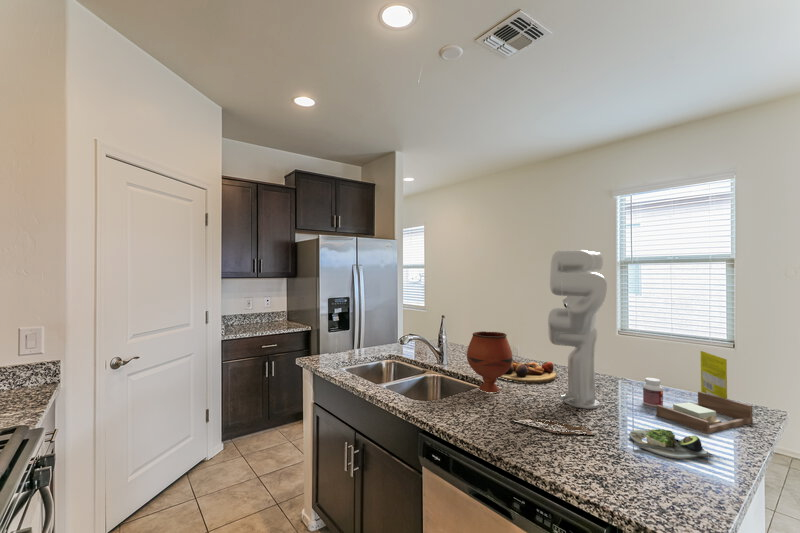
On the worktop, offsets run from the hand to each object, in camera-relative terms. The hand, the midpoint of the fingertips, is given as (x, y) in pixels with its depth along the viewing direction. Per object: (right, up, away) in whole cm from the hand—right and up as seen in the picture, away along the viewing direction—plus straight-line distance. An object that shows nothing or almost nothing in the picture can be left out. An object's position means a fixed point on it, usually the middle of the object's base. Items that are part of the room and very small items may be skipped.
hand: (578, 319), depth 162 cm
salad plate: (-1, -30, -55) cm, 63 cm away
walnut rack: (+24, -30, -39) cm, 54 cm away
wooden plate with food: (-18, -31, +21) cm, 42 cm away
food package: (+40, -30, -24) cm, 55 cm away
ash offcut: (+19, -27, -40) cm, 52 cm away
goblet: (-41, -30, -5) cm, 52 cm away
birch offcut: (+19, -28, -40) cm, 53 cm away
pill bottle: (+16, -30, -25) cm, 42 cm away
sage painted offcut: (+19, -25, -41) cm, 51 cm away
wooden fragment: (-30, -30, -42) cm, 60 cm away
